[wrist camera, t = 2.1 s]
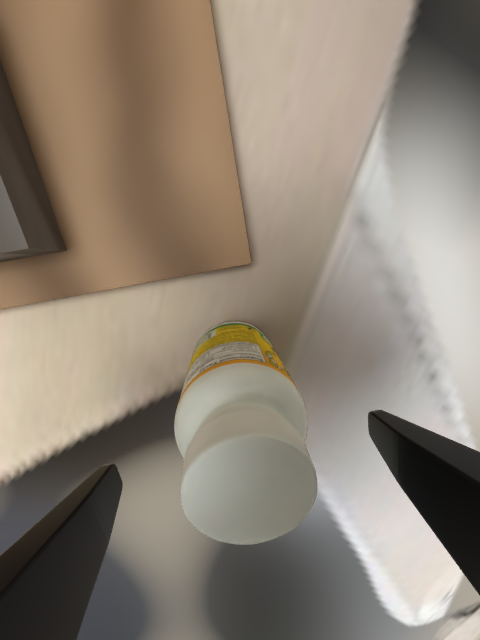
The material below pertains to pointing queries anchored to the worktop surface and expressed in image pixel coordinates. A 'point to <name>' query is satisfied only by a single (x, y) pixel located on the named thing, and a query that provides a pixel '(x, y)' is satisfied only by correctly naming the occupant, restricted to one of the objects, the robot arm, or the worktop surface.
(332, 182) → the worktop surface
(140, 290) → the worktop surface
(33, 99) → the socket board
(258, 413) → the supplement bottle
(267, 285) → the worktop surface
